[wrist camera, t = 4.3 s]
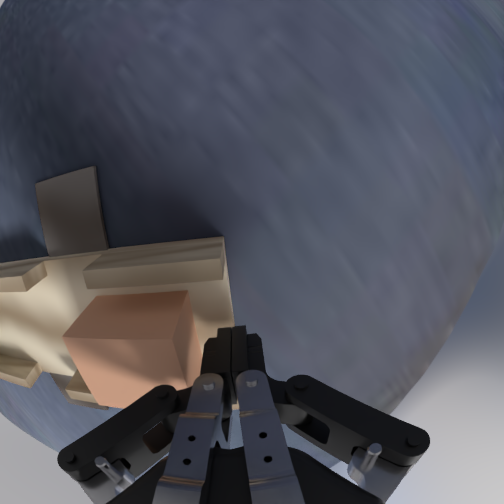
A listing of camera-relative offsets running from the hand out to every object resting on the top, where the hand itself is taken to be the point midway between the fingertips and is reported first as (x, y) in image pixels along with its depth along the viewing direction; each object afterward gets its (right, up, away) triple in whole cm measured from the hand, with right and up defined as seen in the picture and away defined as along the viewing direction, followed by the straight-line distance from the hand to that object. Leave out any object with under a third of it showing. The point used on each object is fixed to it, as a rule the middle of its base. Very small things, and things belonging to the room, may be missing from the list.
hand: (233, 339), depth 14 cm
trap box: (-13, 0, +2) cm, 13 cm away
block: (-5, 0, +1) cm, 6 cm away
